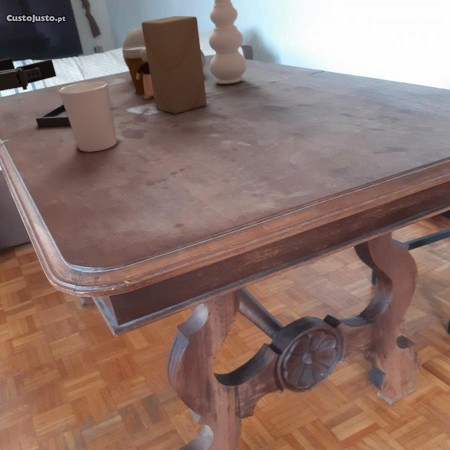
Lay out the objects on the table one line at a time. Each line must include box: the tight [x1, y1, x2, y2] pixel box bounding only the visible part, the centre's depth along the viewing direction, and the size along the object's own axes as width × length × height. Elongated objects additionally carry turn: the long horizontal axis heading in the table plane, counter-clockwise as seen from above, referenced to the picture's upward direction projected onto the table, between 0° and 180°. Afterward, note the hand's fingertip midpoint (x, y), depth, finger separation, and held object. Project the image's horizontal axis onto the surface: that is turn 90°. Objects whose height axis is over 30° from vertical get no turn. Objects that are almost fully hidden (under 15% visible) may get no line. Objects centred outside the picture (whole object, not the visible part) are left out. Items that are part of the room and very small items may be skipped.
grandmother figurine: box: [136, 48, 155, 100], centre depth 133 cm, size 8×4×13 cm, turn 112°
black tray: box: [35, 103, 71, 128], centre depth 125 cm, size 14×14×2 cm
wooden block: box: [141, 15, 207, 115], centre depth 118 cm, size 10×10×20 cm
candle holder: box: [58, 80, 118, 153], centre depth 100 cm, size 10×10×12 cm
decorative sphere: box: [122, 26, 145, 68], centre depth 157 cm, size 15×15×15 cm
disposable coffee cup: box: [122, 45, 146, 95], centre depth 140 cm, size 10×10×12 cm
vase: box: [208, 0, 248, 85], centre depth 135 cm, size 11×11×25 cm
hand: (32, 66), depth 87 cm, fingers open, 13 cm apart
